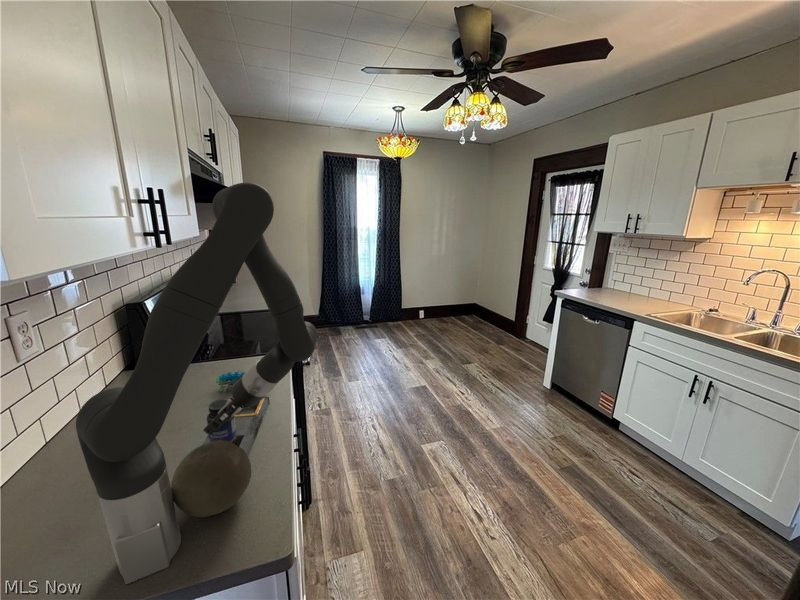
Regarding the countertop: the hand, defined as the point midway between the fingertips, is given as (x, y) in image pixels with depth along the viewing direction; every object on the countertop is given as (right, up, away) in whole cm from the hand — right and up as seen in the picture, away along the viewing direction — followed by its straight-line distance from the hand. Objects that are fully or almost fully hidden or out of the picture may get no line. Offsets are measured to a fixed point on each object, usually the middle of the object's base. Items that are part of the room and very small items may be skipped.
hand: (215, 423), depth 81 cm
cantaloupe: (+8, -13, -12) cm, 20 cm away
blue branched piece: (-13, 0, +35) cm, 37 cm away
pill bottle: (+2, -5, +1) cm, 6 cm away
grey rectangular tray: (0, -7, +11) cm, 13 cm away
